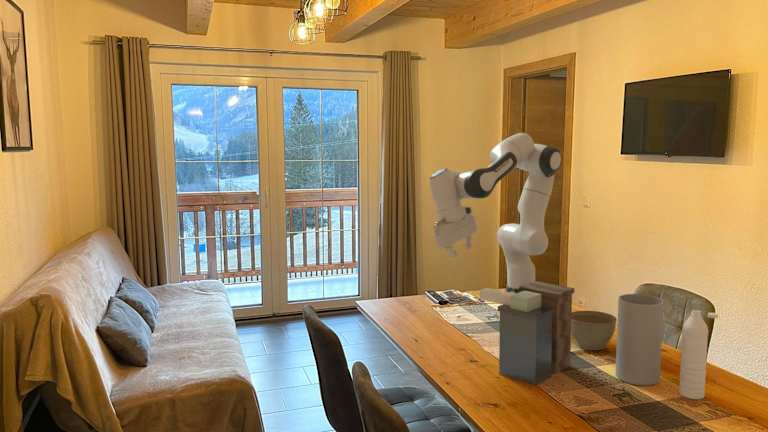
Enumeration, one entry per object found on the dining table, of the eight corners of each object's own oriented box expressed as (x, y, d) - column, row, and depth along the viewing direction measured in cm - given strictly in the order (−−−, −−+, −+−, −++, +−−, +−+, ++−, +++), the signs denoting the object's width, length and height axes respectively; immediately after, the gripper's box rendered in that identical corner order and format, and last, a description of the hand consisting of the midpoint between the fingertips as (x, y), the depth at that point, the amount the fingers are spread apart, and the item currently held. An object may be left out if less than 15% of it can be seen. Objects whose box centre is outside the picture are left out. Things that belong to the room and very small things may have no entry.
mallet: (490, 295, 193) (490, 283, 192) (541, 306, 179) (541, 294, 178) (476, 300, 187) (476, 288, 187) (526, 312, 173) (527, 299, 173)
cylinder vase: (656, 390, 169) (660, 307, 166) (611, 381, 176) (614, 301, 172) (662, 374, 180) (666, 297, 176) (619, 367, 186) (622, 291, 183)
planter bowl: (622, 345, 205) (623, 315, 204) (604, 358, 194) (605, 327, 192) (579, 335, 216) (580, 307, 215) (559, 347, 205) (560, 317, 203)
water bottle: (675, 394, 166) (679, 310, 162) (683, 387, 170) (688, 305, 167) (708, 404, 159) (713, 317, 156) (716, 397, 164) (721, 312, 161)
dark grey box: (514, 364, 190) (515, 299, 187) (553, 376, 180) (554, 308, 177) (496, 373, 183) (497, 306, 180) (535, 386, 173) (537, 315, 170)
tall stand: (534, 354, 198) (535, 281, 194) (572, 365, 188) (574, 288, 184) (518, 362, 191) (519, 286, 188) (556, 374, 181) (558, 294, 178)
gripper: (439, 222, 193) (451, 261, 194) (474, 206, 207) (484, 242, 208) (426, 224, 197) (437, 262, 199) (460, 208, 211) (470, 244, 213)
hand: (461, 252), depth 204 cm, fingers open, 8 cm apart
